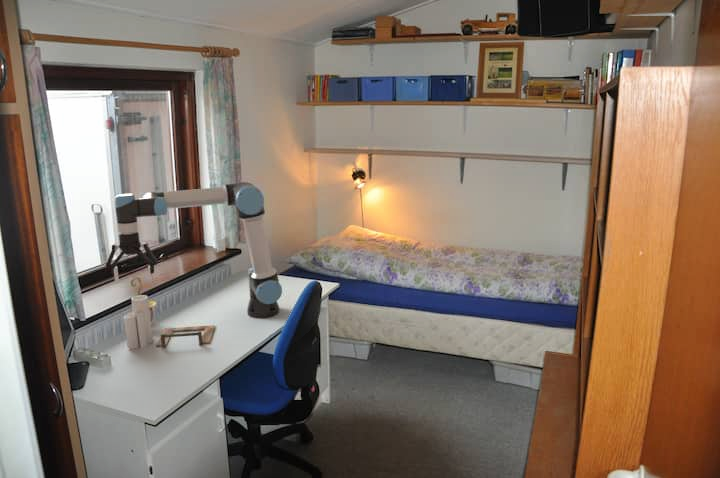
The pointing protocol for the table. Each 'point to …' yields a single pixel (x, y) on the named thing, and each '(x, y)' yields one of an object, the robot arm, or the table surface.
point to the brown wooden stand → (187, 334)
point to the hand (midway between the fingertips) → (134, 281)
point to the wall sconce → (151, 303)
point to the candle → (138, 323)
